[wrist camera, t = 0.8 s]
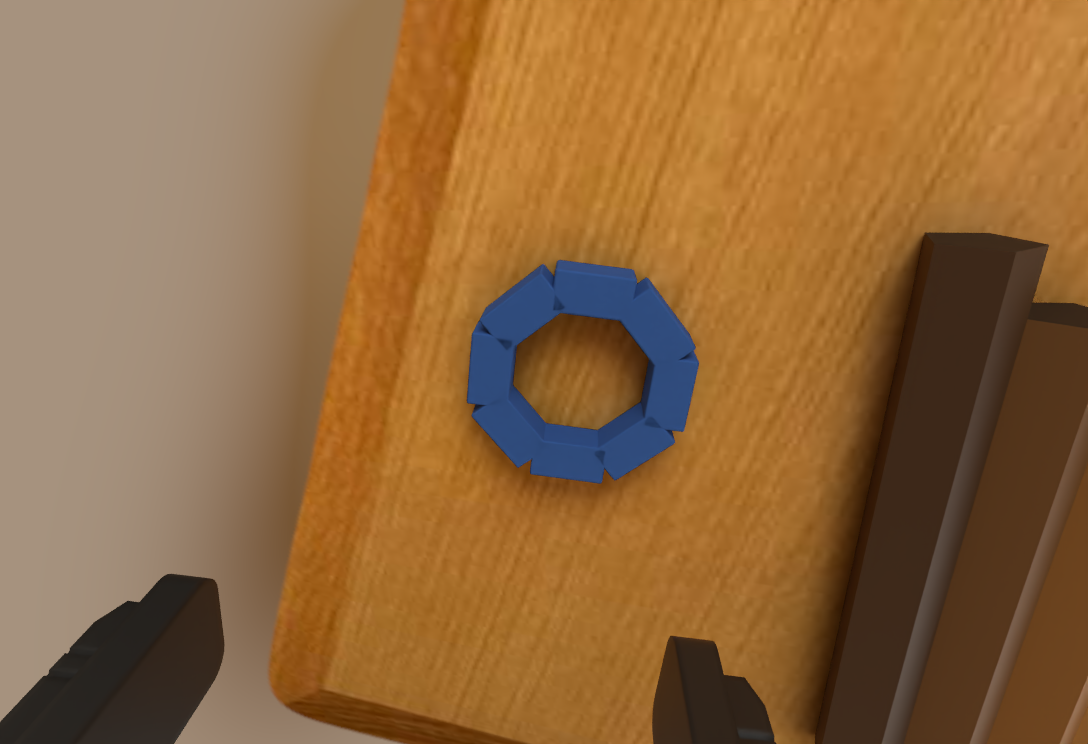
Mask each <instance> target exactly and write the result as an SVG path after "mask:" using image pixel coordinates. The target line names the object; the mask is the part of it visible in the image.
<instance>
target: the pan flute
mask: <svg viewBox="0 0 1088 744" xmlns="http://www.w3.org/2000/svg"><path fill="white" fill-rule="evenodd" d="M1048 247H1049V245H1048V244H1043V243H1037V242H1032V241H1027V240H1022V239H1017V238H1011V237H1006V236H1001V235H996V234H991V233H925V235H924V239H923V244H922V248H921V253H920V258H919V262H918V267H917V271H916V276H915V281H914V285H913V290H912V294H911V299H910V304H909V308H908V313H907V317H906V322H905V327H904V331H903V336H902V340H901V345H900V350H899V354H898V359H897V363H896V368H895V373H894V377H893V382H892V386H891V391H890V395H889V400H888V405H887V409H886V414H885V418H884V423H883V428H882V432H881V437H880V441H879V446H878V451H877V455H876V460H875V464H874V469H873V474H872V478H871V483H870V487H869V492H868V497H867V501H866V506H865V510H864V515H863V520H862V524H861V529H860V533H859V538H858V543H857V547H856V552H855V556H854V561H853V566H852V570H851V575H850V579H849V584H848V588H847V593H846V598H845V602H844V607H843V611H842V616H841V621H840V625H839V630H838V634H837V639H836V644H835V648H834V653H833V657H832V662H831V667H830V671H829V676H828V680H827V685H826V690H825V694H824V699H823V703H822V708H821V713H820V717H819V722H818V726H817V731H816V736H815V744H1088V307H1085V306H1082V305H1078V304H1074V303H1032V301H1033V298H1034V295H1035V291H1036V288H1037V284H1038V281H1039V277H1040V274H1041V271H1042V267H1043V264H1044V260H1045V257H1046V253H1047V250H1048Z"/></svg>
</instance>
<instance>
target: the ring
mask: <svg viewBox="0 0 1088 744" xmlns="http://www.w3.org/2000/svg"><path fill="white" fill-rule="evenodd" d="M560 313H564V314H572V315H580V316H587V317H595V318H603V319H610V320H618V321H620V322H621V323H622V325H623V326H624V327H625V328H626V330H627V331H628V332H629V334H630V335H631V336H632V337H633V339H634V340H635V341H636V343H637V344H638V345H639V347H640V348H641V349H642V350H643V352H644V353H645V354H646V356H647V357H648V358H649V362H648V367H647V372H646V378H645V383H644V388H643V393H642V399H641V402H640V403H638V404H637V405H635V406H634V407H632V408H631V409H629V410H628V411H626V412H625V413H623V414H622V415H620V416H619V417H617V418H615V419H614V420H612V421H611V422H609V423H608V424H606V425H605V426H603V427H602V428H600V429H599V430H593V429H585V428H578V427H570V426H563V425H555V424H548V423H545V422H544V420H543V419H542V418H541V417H540V416H539V415H538V413H537V412H536V411H535V410H534V409H533V408H532V406H531V405H530V404H529V403H528V402H527V401H526V399H525V398H524V397H523V396H522V395H521V394H520V392H519V391H518V390H517V389H516V388H515V387H514V385H513V378H514V369H515V359H516V350H517V345H518V344H519V343H521V342H522V341H523V340H525V339H526V338H527V337H529V336H530V335H531V334H533V333H534V332H535V331H537V330H538V329H540V328H541V327H542V326H544V325H545V324H546V323H548V322H549V321H550V320H552V319H553V318H554V317H556V316H557V315H559V314H560ZM693 350H695V345H694V343H693V341H692V339H691V336H690V334H689V333H688V331H687V330H686V329H685V327H684V326H683V325H682V323H681V322H680V321H679V319H678V318H677V317H676V315H675V314H674V313H673V311H672V310H671V309H670V307H669V306H668V304H667V303H666V302H665V300H664V299H663V298H662V296H661V295H660V294H659V292H658V291H657V290H656V288H655V287H654V286H653V284H652V283H651V282H650V280H649V279H648V278H645V279H643V280H642V281H640V282H639V283H638V284H637V279H636V276H635V273H634V270H632V269H625V268H617V267H609V266H602V265H594V264H586V263H578V262H571V261H563V260H558V261H557V264H556V269H555V276H553V275H552V274H551V272H550V271H549V270H548V269H547V267H546V266H545V265H544V264H542V265H541V266H539V267H538V268H537V269H535V270H534V271H533V272H532V273H530V274H529V275H528V276H526V277H525V278H524V279H523V280H521V281H520V282H519V283H517V284H516V285H515V286H513V287H512V288H511V289H510V290H508V291H507V292H506V293H504V294H503V295H502V296H500V297H499V298H498V299H497V300H495V301H494V302H493V303H491V304H490V305H489V306H488V307H486V309H485V311H484V313H483V315H482V316H481V318H480V321H479V322H478V324H477V325H476V327H475V329H474V331H473V333H472V341H471V354H470V367H469V379H468V392H467V403H470V404H476V405H475V408H474V410H473V413H472V417H473V418H474V419H475V421H476V422H477V423H478V424H479V425H480V426H481V427H482V428H483V429H484V431H485V432H486V433H487V434H488V435H489V436H490V437H491V438H492V440H493V441H494V442H495V443H496V444H497V445H498V446H499V447H500V448H501V450H502V451H503V452H504V453H505V454H506V455H507V456H508V457H509V459H510V460H511V461H512V462H513V463H514V464H515V465H516V466H517V467H518V468H519V467H520V466H522V465H523V464H525V463H526V462H528V461H529V460H531V459H532V460H531V468H530V474H533V475H541V476H548V477H556V478H563V479H570V480H578V481H585V482H593V483H602V479H603V473H604V469H605V470H606V471H607V472H608V473H609V474H610V476H611V477H612V478H613V479H614V480H617V479H619V478H620V477H622V476H623V475H625V474H626V473H628V472H630V471H631V470H633V469H634V468H636V467H638V466H639V465H641V464H642V463H644V462H646V461H647V460H649V459H650V458H652V457H654V456H655V455H657V454H658V453H660V452H662V451H663V450H665V449H666V448H668V447H670V446H671V445H673V444H674V443H675V440H674V436H673V433H672V430H673V431H681V432H683V431H684V428H685V424H686V419H687V415H688V410H689V406H690V401H691V397H692V393H693V388H694V384H695V379H696V375H697V370H698V366H699V362H698V360H697V357H696V355H695V353H694V351H693Z"/></svg>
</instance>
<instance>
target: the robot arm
mask: <svg viewBox="0 0 1088 744" xmlns="http://www.w3.org/2000/svg"><path fill="white" fill-rule="evenodd" d="M223 654H224V636H223V628H222V619H221V611H220V603H219V594H218V588H217V584H216V582H215V580H213V579H209V578H201V577H193V576H184V575H176V574H167V575H165V576H164V577H162V578H161V579H160V580H159V581H158V582H157V583H156V584H155V585H154V587H153V588H152V589H151V590H150V591H149V592H148V594H146V596H145V597H144V598H143V599H142V600H141V601H140V602H132V601H127V602H125V603H124V604H122V605H121V606H119V607H117V608H116V609H114V610H113V611H111V612H110V613H108V614H106V615H105V616H103V617H102V618H100V619H99V620H97V621H95V622H94V623H93V624H92V625H91V626H90V628H89V629H88V630H87V631H86V632H85V633H84V634H83V635H82V636H81V637H80V638H79V639H78V640H77V641H76V642H75V643H74V644H73V646H71V648H70V651H69V653H68V654H66V653H65V654H64V655H63V656H62V657H61V658H60V659H59V660H58V661H57V662H56V663H55V664H54V666H53V667H52V668H51V669H50V670H49V674H48V675H47V676H43V677H42V678H41V679H40V680H39V681H38V682H37V684H36V685H35V686H34V687H33V688H32V689H31V690H30V691H29V692H28V693H27V694H26V695H25V696H24V697H23V698H22V699H21V700H20V702H19V703H18V704H17V705H16V706H15V707H14V708H13V709H12V710H11V711H10V712H9V713H8V714H7V715H6V716H5V717H4V718H3V720H2V721H1V722H0V744H174V743H175V741H176V740H177V738H178V737H179V735H180V734H181V732H182V730H183V729H184V727H185V726H186V724H187V722H188V721H189V719H190V718H191V716H192V715H193V713H194V712H195V710H196V709H197V707H198V705H199V704H200V702H201V701H202V699H203V697H204V696H205V694H206V693H207V691H208V690H209V688H210V687H211V685H212V683H213V682H214V680H215V678H216V676H217V674H218V671H219V669H220V666H221V663H222V659H223ZM652 728H653V742H654V744H776V743H775V742H774V734H773V731H772V728H771V724H770V721H769V718H768V714H767V711H766V708H765V705H764V704H763V702H762V701H761V700H760V698H759V697H758V695H757V694H756V693H755V691H754V690H753V689H752V687H751V686H750V684H749V683H748V682H747V680H746V679H745V678H744V677H736V676H728V675H724V674H723V670H722V666H721V662H720V658H719V653H718V650H717V646H716V644H715V643H714V641H710V640H702V639H693V638H685V637H677V636H670V638H669V640H668V642H667V646H666V651H665V655H664V659H663V663H662V668H661V672H660V676H659V681H658V685H657V689H656V693H655V698H654V705H653V720H652Z"/></svg>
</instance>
